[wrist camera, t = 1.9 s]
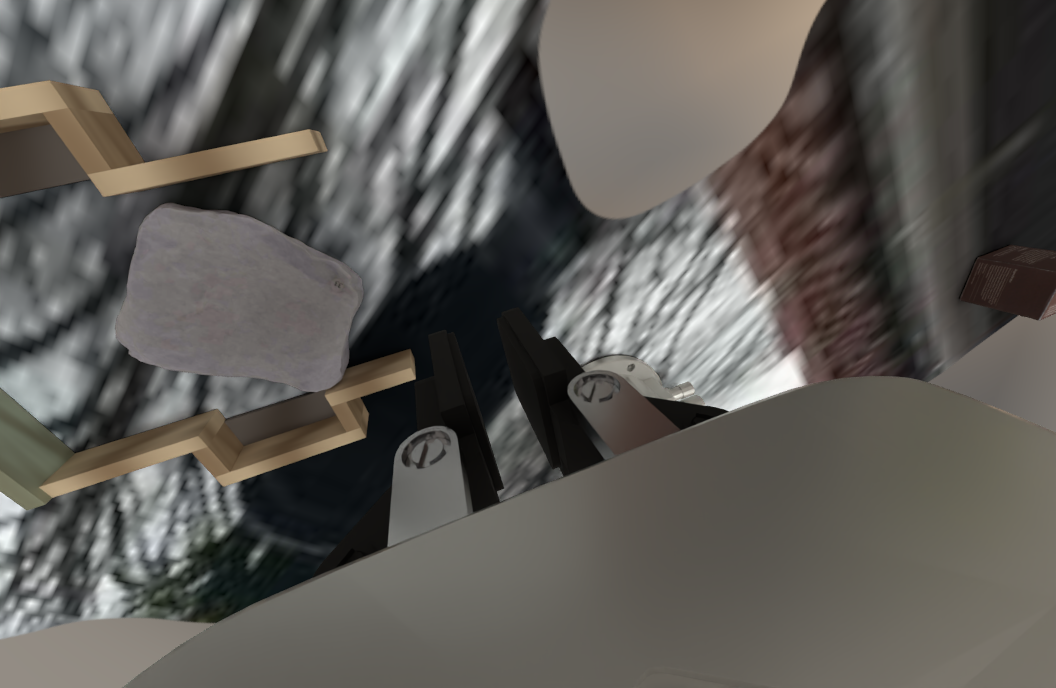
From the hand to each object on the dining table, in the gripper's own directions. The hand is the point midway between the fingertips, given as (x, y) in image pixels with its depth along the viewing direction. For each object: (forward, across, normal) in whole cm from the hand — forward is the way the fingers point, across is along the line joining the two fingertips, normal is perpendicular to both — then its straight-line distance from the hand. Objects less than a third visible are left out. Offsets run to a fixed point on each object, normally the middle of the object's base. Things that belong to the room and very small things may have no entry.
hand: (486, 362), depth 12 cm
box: (+17, -65, +21) cm, 70 cm away
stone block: (+18, +12, 0) cm, 21 cm away
